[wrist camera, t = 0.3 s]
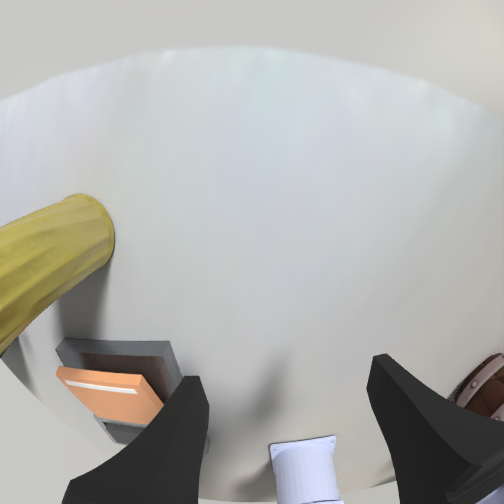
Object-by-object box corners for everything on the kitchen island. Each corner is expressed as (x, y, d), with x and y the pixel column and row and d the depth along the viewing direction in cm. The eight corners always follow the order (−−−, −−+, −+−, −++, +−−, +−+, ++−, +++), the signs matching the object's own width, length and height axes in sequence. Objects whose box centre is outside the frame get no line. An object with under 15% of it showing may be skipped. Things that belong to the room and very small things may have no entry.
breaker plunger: (190, 437, 25) (188, 451, 23) (121, 430, 25) (116, 442, 23) (182, 423, 24) (179, 438, 22) (110, 416, 24) (105, 428, 22)
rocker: (175, 418, 22) (173, 427, 21) (100, 409, 23) (97, 417, 22) (141, 374, 18) (138, 386, 17) (59, 366, 18) (55, 375, 18)
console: (209, 440, 27) (207, 457, 24) (122, 432, 27) (116, 447, 25) (169, 340, 21) (161, 360, 19) (64, 338, 22) (52, 353, 19)
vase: (124, 265, 19) (3, 402, 6) (67, 272, 19) (-46, 376, 6) (106, 185, 17) (-69, 254, 4) (48, 202, 17) (-93, 269, 4)
